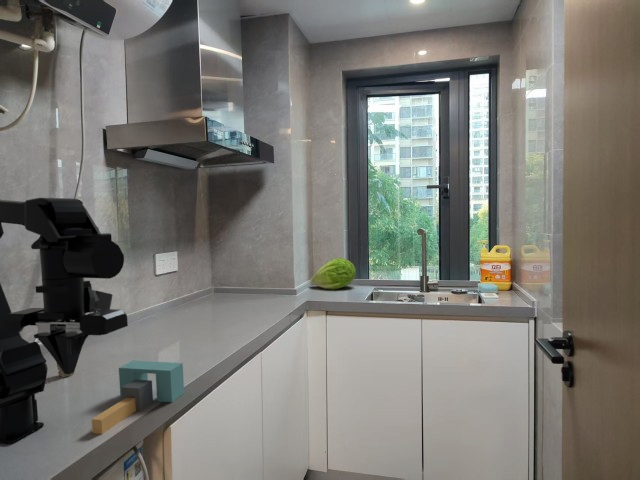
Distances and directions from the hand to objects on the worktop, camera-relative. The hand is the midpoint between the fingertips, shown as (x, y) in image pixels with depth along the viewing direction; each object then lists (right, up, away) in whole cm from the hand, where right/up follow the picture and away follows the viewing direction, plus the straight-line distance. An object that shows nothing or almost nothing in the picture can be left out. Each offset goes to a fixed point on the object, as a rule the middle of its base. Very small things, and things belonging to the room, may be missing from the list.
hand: (69, 373), depth 69 cm
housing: (+5, -11, +21) cm, 24 cm away
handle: (-21, -12, +35) cm, 43 cm away
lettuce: (+47, -3, +149) cm, 156 cm away
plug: (+3, -12, +12) cm, 17 cm away
